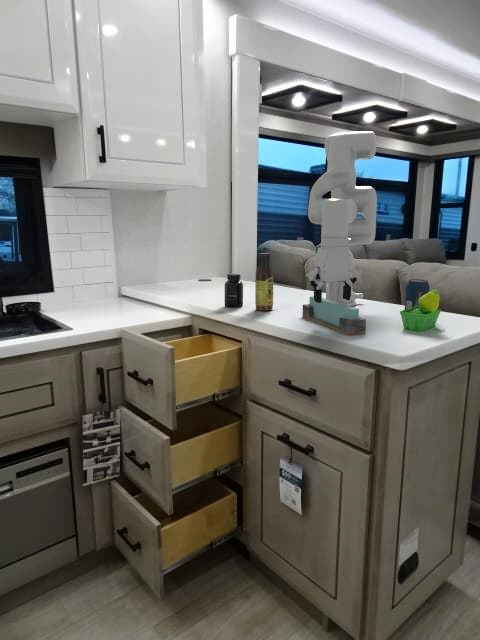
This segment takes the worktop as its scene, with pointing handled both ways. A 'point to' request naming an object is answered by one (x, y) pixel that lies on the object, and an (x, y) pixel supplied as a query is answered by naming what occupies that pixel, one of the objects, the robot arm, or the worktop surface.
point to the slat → (332, 311)
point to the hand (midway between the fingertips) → (332, 300)
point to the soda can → (415, 292)
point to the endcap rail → (344, 324)
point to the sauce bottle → (264, 284)
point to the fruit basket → (422, 313)
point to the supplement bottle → (233, 291)
